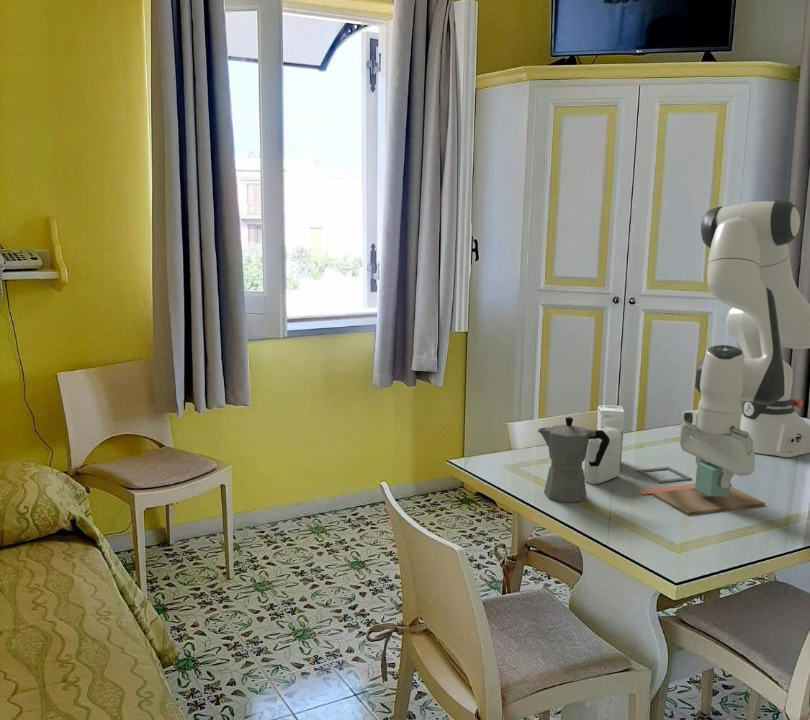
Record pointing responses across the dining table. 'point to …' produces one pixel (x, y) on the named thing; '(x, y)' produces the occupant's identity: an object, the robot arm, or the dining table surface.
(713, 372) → the robot arm
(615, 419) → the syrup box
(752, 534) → the dining table surface
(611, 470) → the photo printer
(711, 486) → the teal block
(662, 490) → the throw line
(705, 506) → the board
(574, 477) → the coffeepot
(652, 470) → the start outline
